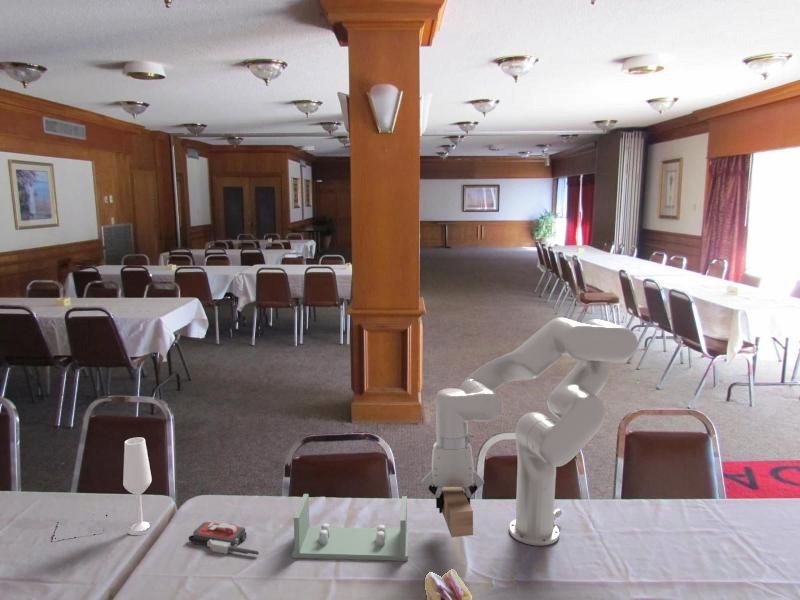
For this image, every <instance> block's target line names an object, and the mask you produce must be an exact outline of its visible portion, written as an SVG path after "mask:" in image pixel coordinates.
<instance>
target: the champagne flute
mask: <svg viewBox="0 0 800 600" xmlns="http://www.w3.org/2000/svg"><path fill="white" fill-rule="evenodd" d="M123 453H124V454H123V478H122V479H123V480H122V485H123V487H124V489H125V490H126V491H127V492H129V493H131V494H133V495H135V498H136V499H135V501H136V514H137V515H136V516H137V522H136V523H134V524H132V525H131V526H132V527H131V526H130V527H131V530H133V531H143V530H146V529H147V528H149V527H150V524H149V523H150V522H147V521H143V507H142V494H143V493H144V492H145V491H146V490H147V489H148V488H149V487H150V485H151V483H152V480H153V479H152V473H151V468H150V461H149V456H148V449H147V444H146V439H145V438H144V437H138V436H137V437H132V438H131V437H130V438H128V439H127V440H125V441H124V451H123Z"/></svg>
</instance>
